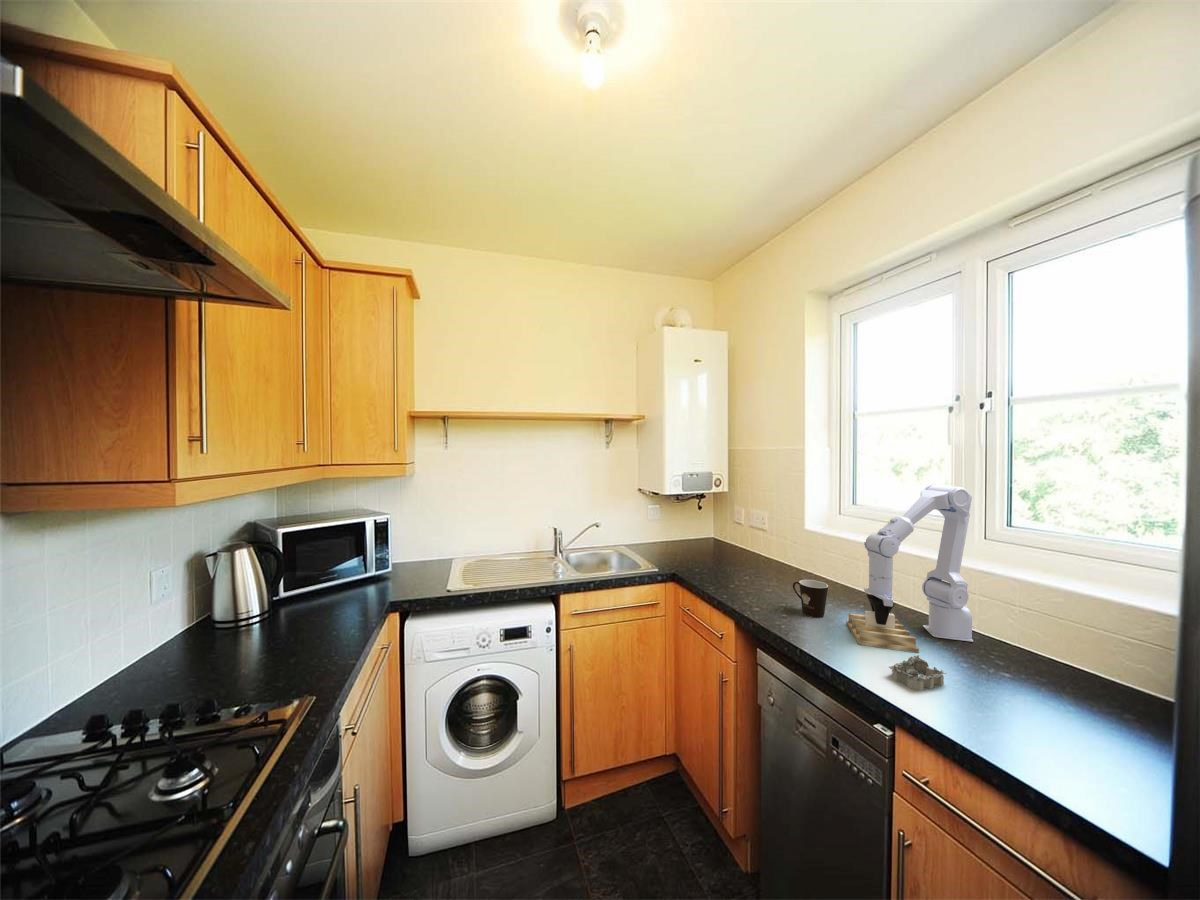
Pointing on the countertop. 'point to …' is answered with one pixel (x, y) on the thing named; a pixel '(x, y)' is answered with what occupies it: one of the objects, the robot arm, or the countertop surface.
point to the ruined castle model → (909, 673)
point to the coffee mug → (812, 597)
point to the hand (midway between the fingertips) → (879, 622)
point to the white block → (871, 621)
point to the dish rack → (881, 635)
